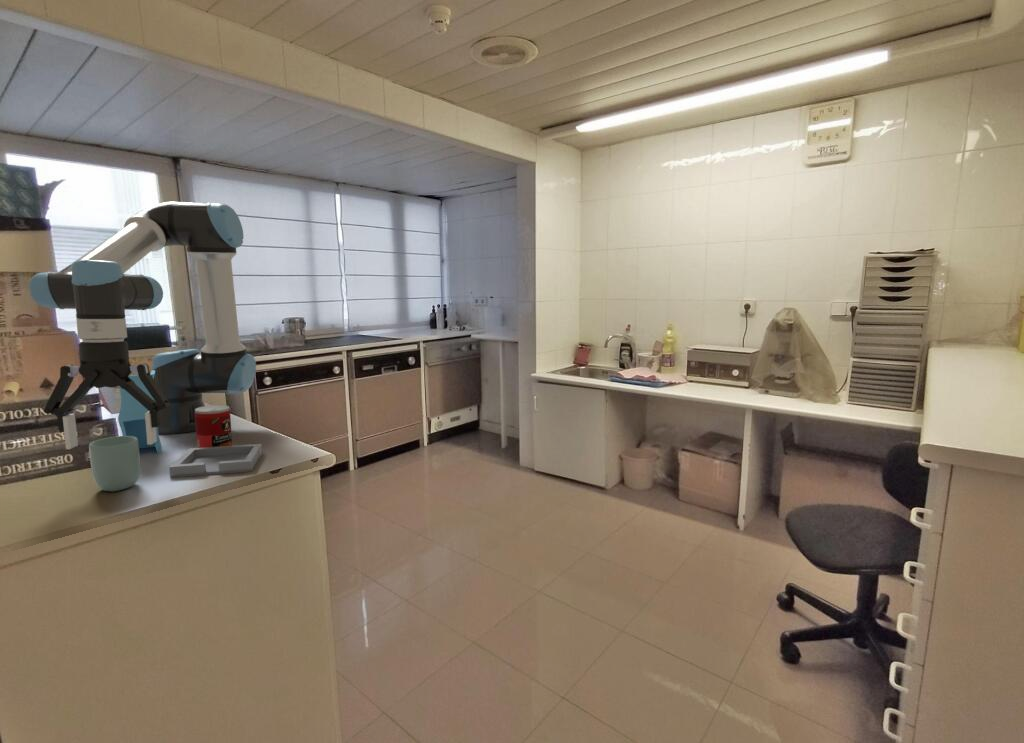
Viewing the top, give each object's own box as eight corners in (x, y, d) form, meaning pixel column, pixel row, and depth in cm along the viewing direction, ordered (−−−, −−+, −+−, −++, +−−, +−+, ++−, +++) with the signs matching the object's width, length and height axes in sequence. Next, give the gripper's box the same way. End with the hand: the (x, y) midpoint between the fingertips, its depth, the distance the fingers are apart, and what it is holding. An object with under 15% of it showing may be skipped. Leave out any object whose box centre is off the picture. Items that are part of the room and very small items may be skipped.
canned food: (217, 455, 124) (214, 412, 122) (189, 452, 126) (186, 410, 124) (239, 446, 132) (237, 405, 130) (213, 444, 133) (210, 404, 131)
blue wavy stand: (162, 444, 132) (155, 370, 129) (161, 452, 125) (154, 374, 122) (124, 449, 127) (116, 372, 124) (122, 457, 121) (113, 376, 118)
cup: (103, 498, 97) (98, 449, 96) (87, 489, 101) (82, 442, 100) (148, 486, 104) (144, 439, 102) (132, 478, 108) (127, 433, 106)
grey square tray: (190, 457, 122) (189, 448, 121) (262, 452, 126) (261, 443, 126) (170, 477, 108) (169, 467, 108) (251, 471, 113) (250, 461, 113)
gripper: (11, 342, 91) (24, 454, 93) (170, 341, 98) (177, 445, 101) (36, 339, 98) (47, 444, 100) (182, 338, 105) (189, 436, 108)
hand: (112, 445), depth 101 cm, fingers open, 13 cm apart
